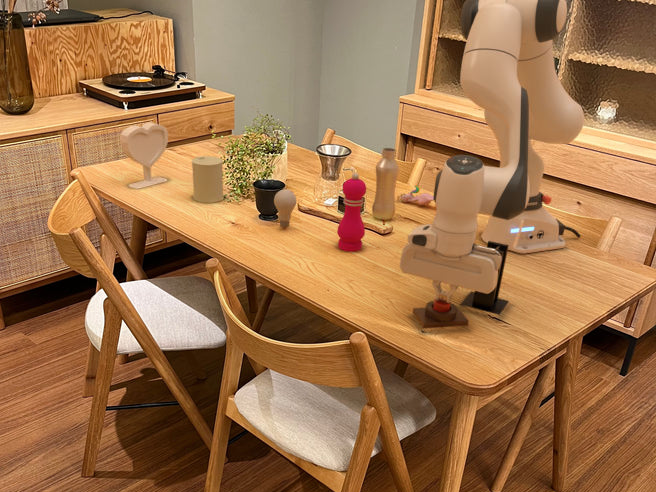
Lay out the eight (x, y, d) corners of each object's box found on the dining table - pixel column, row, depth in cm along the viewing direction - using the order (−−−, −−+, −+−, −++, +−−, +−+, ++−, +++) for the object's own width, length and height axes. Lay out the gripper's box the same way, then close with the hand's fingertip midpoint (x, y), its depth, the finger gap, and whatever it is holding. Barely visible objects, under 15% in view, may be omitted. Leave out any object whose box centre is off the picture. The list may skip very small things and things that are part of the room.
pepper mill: (361, 254, 182) (368, 178, 172) (334, 250, 183) (339, 175, 173) (365, 243, 188) (371, 170, 178) (338, 240, 189) (343, 167, 179)
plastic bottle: (388, 224, 201) (395, 154, 191) (367, 218, 204) (373, 150, 194) (398, 217, 206) (405, 149, 196) (377, 212, 209) (383, 145, 199)
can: (210, 191, 220) (209, 152, 214) (229, 198, 215) (229, 159, 209) (187, 197, 215) (185, 158, 208) (206, 205, 209) (204, 165, 203)
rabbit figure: (394, 206, 218) (439, 209, 210) (394, 187, 215) (439, 190, 207) (403, 201, 223) (448, 204, 214) (403, 182, 220) (448, 184, 212)
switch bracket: (459, 309, 158) (469, 248, 150) (470, 295, 164) (480, 236, 156) (498, 319, 154) (511, 257, 147) (508, 305, 160) (521, 245, 153)
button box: (454, 314, 155) (457, 298, 153) (466, 330, 150) (469, 313, 148) (411, 317, 154) (414, 301, 152) (422, 333, 148) (424, 316, 146)
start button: (446, 304, 152) (447, 297, 151) (452, 312, 149) (453, 305, 148) (430, 305, 151) (431, 298, 150) (436, 313, 148) (437, 305, 147)
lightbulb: (278, 233, 192) (279, 194, 186) (270, 225, 197) (270, 187, 191) (298, 230, 194) (300, 192, 189) (290, 223, 199) (291, 185, 193)
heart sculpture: (133, 190, 218) (127, 131, 209) (123, 186, 221) (117, 127, 212) (172, 179, 228) (168, 123, 219) (162, 176, 231) (158, 120, 222)
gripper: (507, 245, 140) (495, 306, 147) (411, 224, 148) (404, 283, 155) (499, 256, 135) (487, 319, 142) (400, 233, 143) (393, 294, 150)
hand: (443, 300), depth 149 cm, fingers closed
